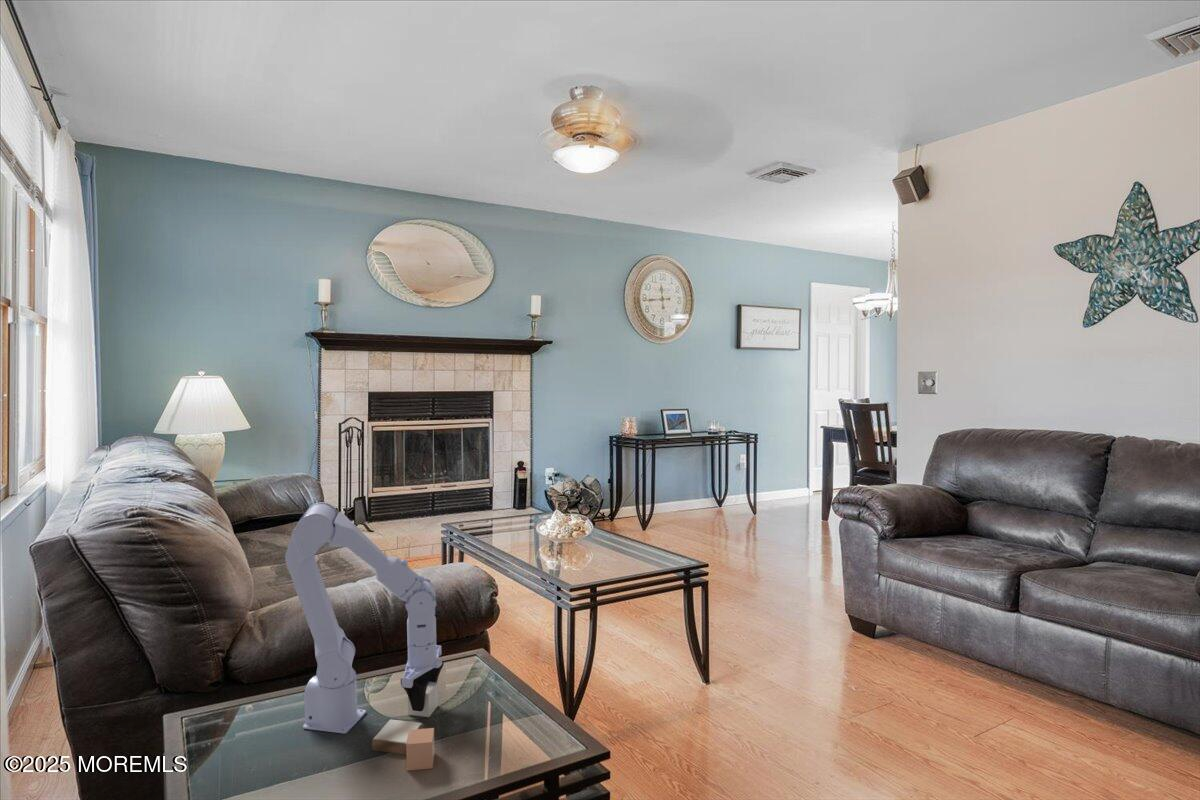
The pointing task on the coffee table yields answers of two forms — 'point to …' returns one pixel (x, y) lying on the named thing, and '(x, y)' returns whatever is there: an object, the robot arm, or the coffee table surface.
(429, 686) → the stone block
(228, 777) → the coffee table surface
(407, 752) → the terracotta block
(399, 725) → the plinth
